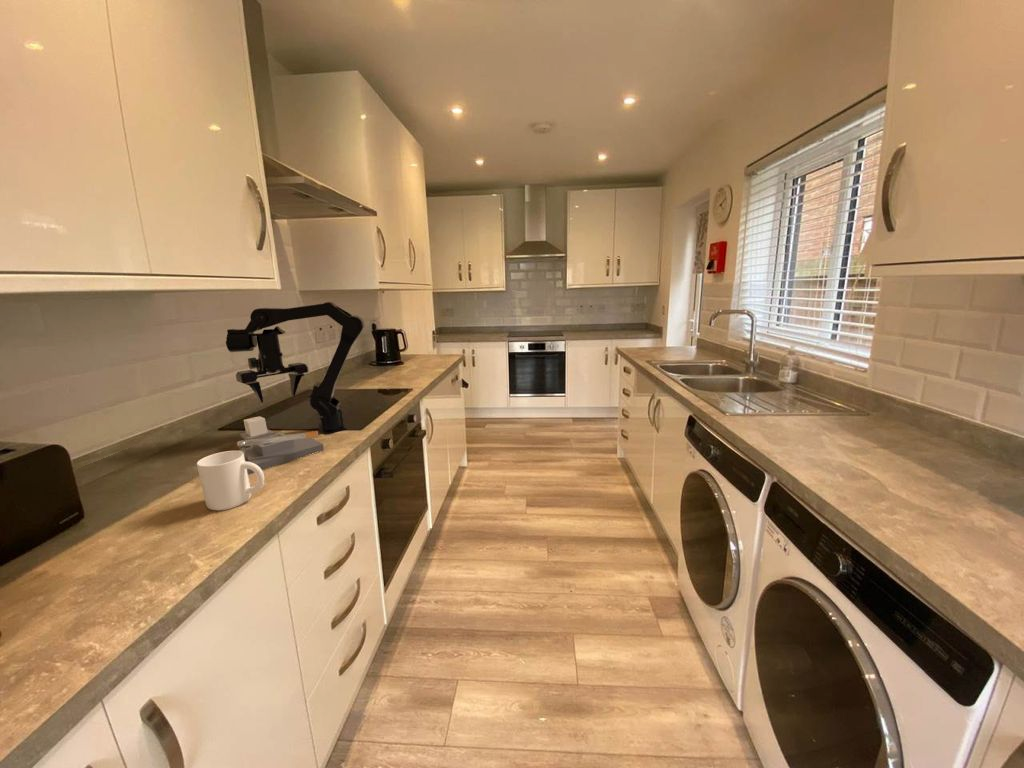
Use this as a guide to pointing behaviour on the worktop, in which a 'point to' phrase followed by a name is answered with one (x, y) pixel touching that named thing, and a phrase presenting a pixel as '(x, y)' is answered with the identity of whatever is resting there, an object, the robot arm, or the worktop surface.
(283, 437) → the latch bar
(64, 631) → the worktop surface
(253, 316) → the robot arm
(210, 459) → the mug
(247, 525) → the worktop surface
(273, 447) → the socket block
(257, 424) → the plug
